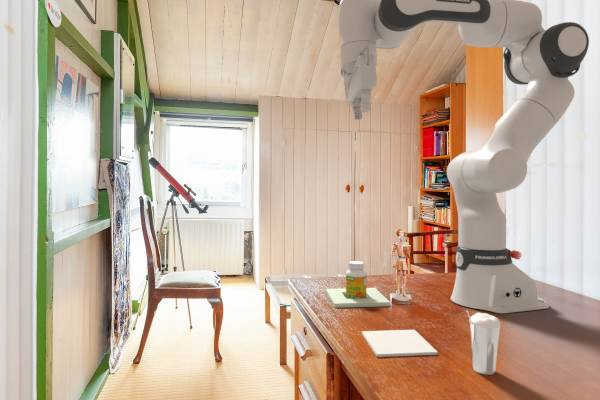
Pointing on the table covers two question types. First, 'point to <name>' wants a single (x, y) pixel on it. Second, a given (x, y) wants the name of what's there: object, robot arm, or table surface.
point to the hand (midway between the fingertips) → (361, 115)
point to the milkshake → (484, 342)
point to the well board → (372, 299)
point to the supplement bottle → (356, 281)
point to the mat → (398, 343)
